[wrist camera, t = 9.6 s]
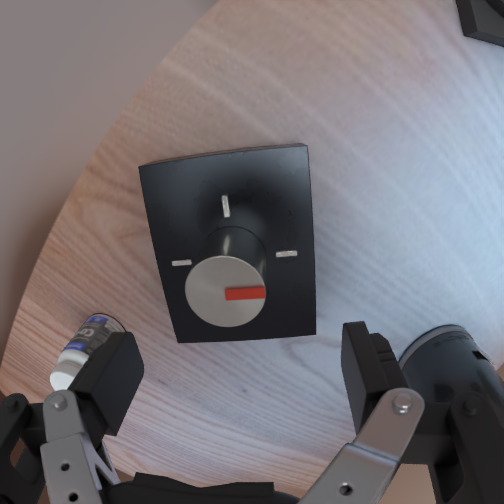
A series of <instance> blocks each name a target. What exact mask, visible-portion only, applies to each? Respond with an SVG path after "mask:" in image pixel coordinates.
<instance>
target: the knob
mask: <svg viewBox="0 0 504 504" xmlns="http://www.w3.org/2000/svg"><path fill="white" fill-rule="evenodd" d="M185 294H186V298H187V301H188V303H189V305H190V307H191V309H192V310H193V311H194V312H195V313H196V314H197V315H198V316H199V317H200V318H201V319H203V320H205V321H206V322H208V323H210V324H213V325H217V326H222V327H234V326H239V325H242V324H245V323H247V322H249V321H250V320H252V319H253V318H254V317H256V316H257V315H258V313H259V312H260V311H261V309H262V307H263V305H264V302H265V298H266V255H265V250H264V247H263V245H262V243H261V242H260V240H259V239H258V238H257V237H256V236H255V235H254V234H252V233H251V232H249V231H247V230H245V229H242V228H238V227H227V228H222V229H220V230H217V231H215V232H214V233H212V234H211V235H210V236H209V237H208V238H207V239H206V241H205V242H204V244H203V246H202V248H201V250H200V252H199V254H198V256H197V258H196V260H195V262H194V264H193V267H192V269H191V271H190V273H189V275H188V277H187V280H186V284H185Z"/></svg>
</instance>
